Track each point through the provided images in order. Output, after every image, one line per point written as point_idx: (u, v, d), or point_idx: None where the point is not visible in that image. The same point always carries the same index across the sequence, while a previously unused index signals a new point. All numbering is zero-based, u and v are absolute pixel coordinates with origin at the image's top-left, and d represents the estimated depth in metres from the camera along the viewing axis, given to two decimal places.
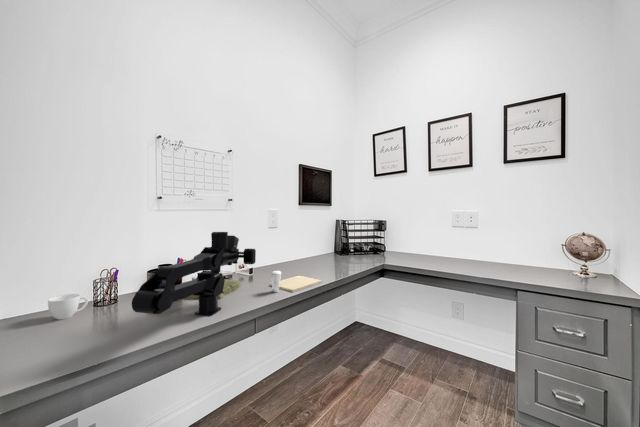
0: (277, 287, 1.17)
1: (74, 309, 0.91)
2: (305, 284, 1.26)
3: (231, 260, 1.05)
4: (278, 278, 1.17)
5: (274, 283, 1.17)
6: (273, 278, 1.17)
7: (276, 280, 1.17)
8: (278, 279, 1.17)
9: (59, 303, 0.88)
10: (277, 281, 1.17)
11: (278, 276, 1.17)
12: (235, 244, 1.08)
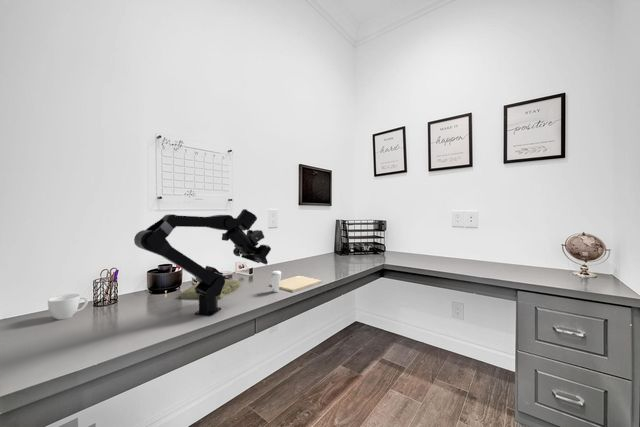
0: (277, 287, 1.17)
1: (74, 309, 0.91)
2: (305, 284, 1.26)
3: (244, 243, 1.04)
4: (278, 278, 1.17)
5: (274, 283, 1.17)
6: (273, 278, 1.17)
7: (276, 280, 1.17)
8: (278, 279, 1.17)
9: (59, 303, 0.88)
10: (277, 281, 1.17)
11: (278, 276, 1.17)
12: (257, 237, 1.09)
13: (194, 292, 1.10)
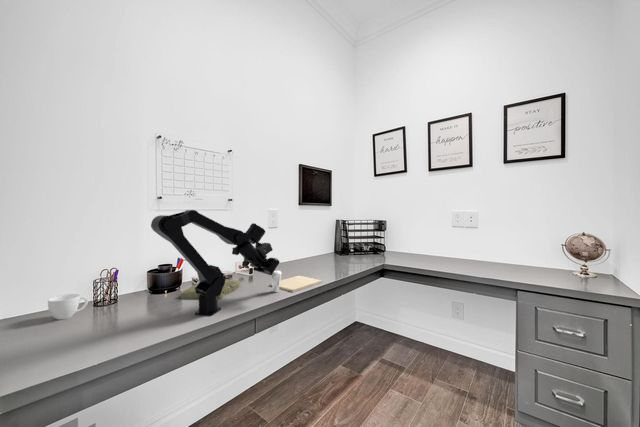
0: (277, 287, 1.17)
1: (74, 309, 0.91)
2: (305, 284, 1.26)
3: (253, 257, 1.07)
4: (278, 278, 1.17)
5: (274, 283, 1.17)
6: (273, 278, 1.17)
7: (276, 280, 1.17)
8: (278, 279, 1.17)
9: (59, 303, 0.88)
10: (277, 281, 1.17)
11: (278, 276, 1.17)
12: (266, 250, 1.12)
13: (194, 292, 1.10)
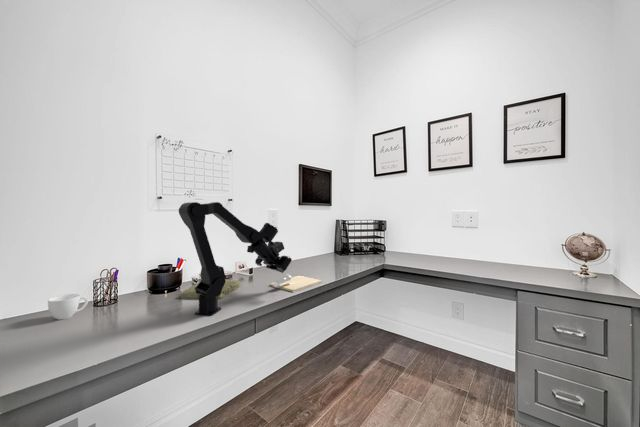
0: (280, 279, 1.22)
1: (74, 309, 0.91)
2: (305, 284, 1.26)
3: (267, 255, 1.12)
4: (286, 277, 1.25)
5: (281, 277, 1.24)
6: (283, 276, 1.26)
7: (284, 277, 1.24)
8: (286, 277, 1.24)
9: (59, 303, 0.88)
10: (284, 277, 1.24)
11: (288, 276, 1.25)
12: (278, 248, 1.17)
13: (194, 292, 1.10)
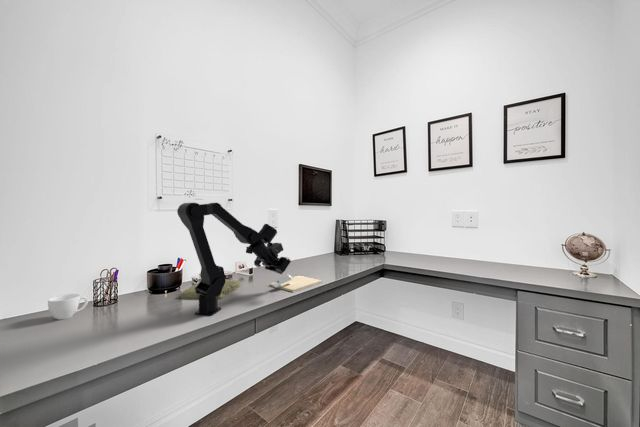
0: (280, 280, 1.22)
1: (74, 309, 0.91)
2: (305, 284, 1.26)
3: (266, 256, 1.12)
4: (287, 277, 1.25)
5: (281, 278, 1.24)
6: (284, 276, 1.26)
7: (284, 277, 1.24)
8: (286, 277, 1.24)
9: (59, 303, 0.88)
10: (284, 277, 1.24)
11: (288, 276, 1.25)
12: (277, 249, 1.17)
13: (194, 292, 1.10)
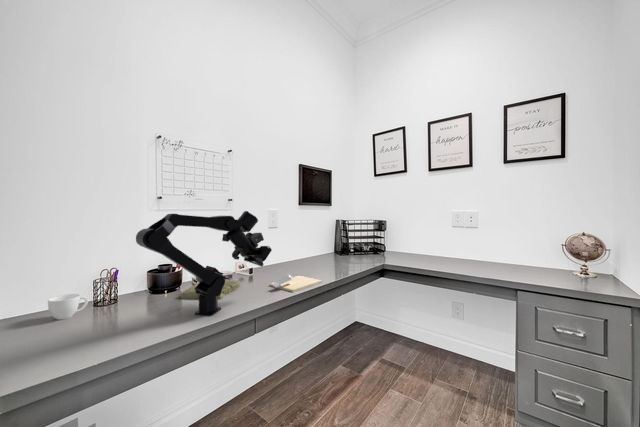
0: (280, 280, 1.22)
1: (74, 309, 0.91)
2: (305, 284, 1.26)
3: (245, 244, 1.04)
4: (287, 277, 1.25)
5: (281, 278, 1.24)
6: (284, 276, 1.26)
7: (284, 277, 1.24)
8: (286, 277, 1.24)
9: (59, 303, 0.88)
10: (284, 277, 1.24)
11: (288, 276, 1.25)
12: (257, 238, 1.09)
13: (194, 292, 1.10)
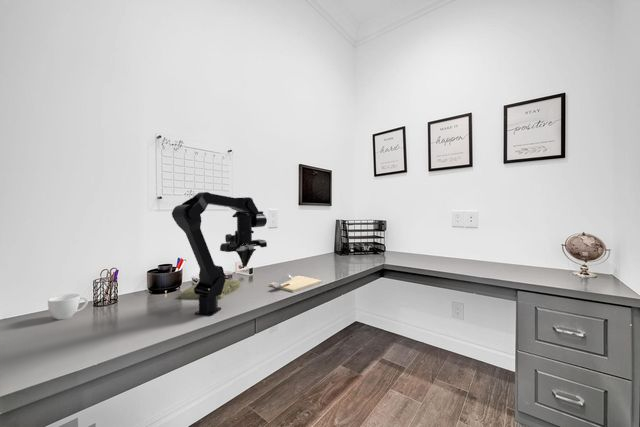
0: (280, 280, 1.22)
1: (74, 309, 0.91)
2: (305, 284, 1.26)
3: None
4: (287, 277, 1.25)
5: (281, 278, 1.24)
6: (284, 276, 1.26)
7: (284, 277, 1.24)
8: (286, 277, 1.24)
9: (59, 303, 0.88)
10: (284, 277, 1.24)
11: (288, 276, 1.25)
12: None
13: (194, 292, 1.10)
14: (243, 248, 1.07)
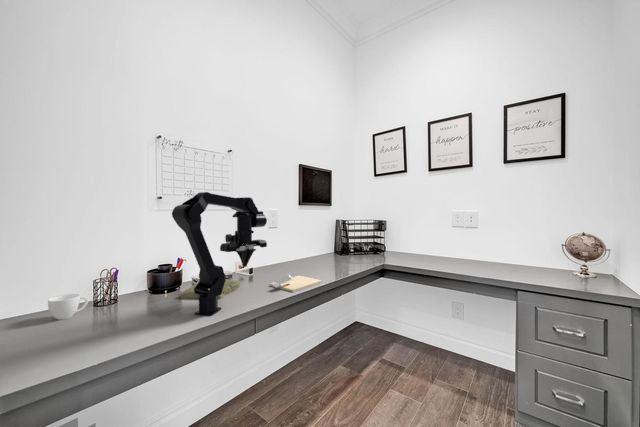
0: (280, 280, 1.22)
1: (74, 309, 0.91)
2: (305, 284, 1.26)
3: None
4: (287, 277, 1.25)
5: (281, 278, 1.24)
6: (284, 276, 1.26)
7: (284, 277, 1.24)
8: (286, 277, 1.24)
9: (59, 303, 0.88)
10: (284, 277, 1.24)
11: (288, 276, 1.25)
12: None
13: (194, 292, 1.10)
14: (243, 248, 1.07)
